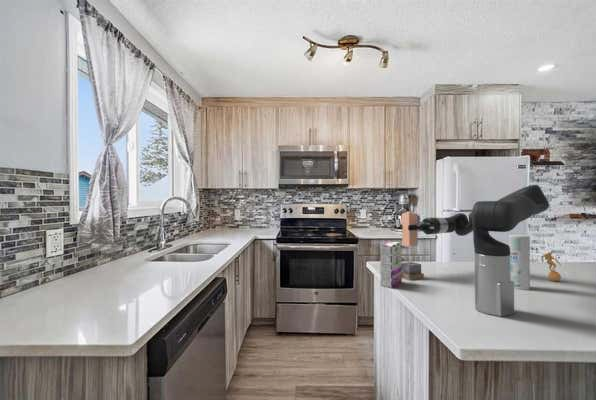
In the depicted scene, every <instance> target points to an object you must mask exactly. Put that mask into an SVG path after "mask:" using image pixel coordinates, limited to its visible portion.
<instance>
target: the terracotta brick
mask: <svg viewBox="0 0 596 400" xmlns="http://www.w3.org/2000/svg"><path fill="white" fill-rule="evenodd" d="M417 222H418V213H413V211H406V213H405V212H404V213H403V212H402V213H401V224H402V229H401V234H402V235H401V241H402V242H401V245H402V246H405V247H418V246H419V243H418V241H419V240H418V238H419V237H418V236H419V235H418V232H419V231H417V230H408V225H417Z"/></svg>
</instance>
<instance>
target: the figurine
mask: <svg viewBox="0 0 596 400" xmlns="http://www.w3.org/2000/svg"><path fill="white" fill-rule="evenodd" d="M552 255H553V253H552V251H549V252H548V253H545V254H543V255H541V256H540V257H541V261H542V263H544V262H545V260H544V258H545V259H546V263H547V264H548V265H549V267H548V268H549V270H550V272H549V273H548V274H547V275H548V279H549V280H551V281H553V282H558V281H560V280H561V279H562V276H561V274H560V273H559V272H557V271H556V270H555V269H556V267H557V264H559V266H560V267H562V264H561V262H559V260H557V258H555V257H554V256H552ZM552 260H554V261H555V262H556V263H557V264H556V263H555V262H554V261H552Z"/></svg>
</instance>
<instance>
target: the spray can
mask: <svg viewBox="0 0 596 400" xmlns="http://www.w3.org/2000/svg"><path fill="white" fill-rule="evenodd" d="M530 236H531V235H527V234H509V235H508V246H509V247H510V279H511V281H513V282H514V290H522V291H523V290H525V291H528V290H530V289H531V279H530V278H531V269H530V268H531V264H530V263H531V259H530V257H531V256H530V255H531V251H530V250H531V249H530V248H531V242H530V241H531V239H530V238H531V237H530Z"/></svg>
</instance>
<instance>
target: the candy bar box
mask: <svg viewBox="0 0 596 400" xmlns="http://www.w3.org/2000/svg"><path fill="white" fill-rule="evenodd" d="M401 245H402V242H396V241H389V242H386V243H383V244H380V245H379V259H380V260H379V261H380V287H383V288H388V289H389V288H390V289H393V288H395V287H396V286H398V285H400V284H401V283H402V279H403V278H402V277H401V263H402V249H401V248H402V246H401Z"/></svg>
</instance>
